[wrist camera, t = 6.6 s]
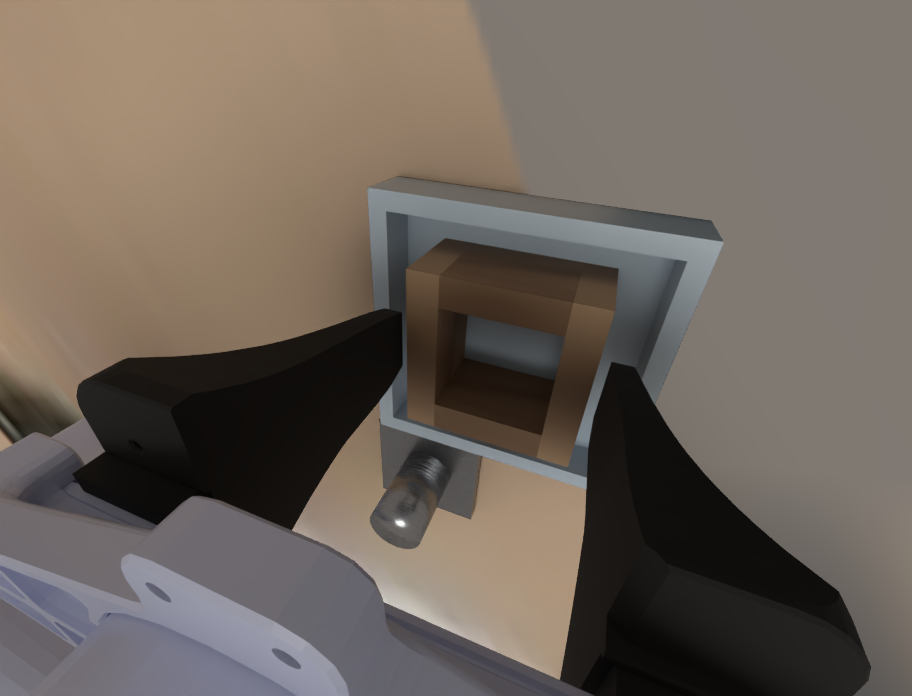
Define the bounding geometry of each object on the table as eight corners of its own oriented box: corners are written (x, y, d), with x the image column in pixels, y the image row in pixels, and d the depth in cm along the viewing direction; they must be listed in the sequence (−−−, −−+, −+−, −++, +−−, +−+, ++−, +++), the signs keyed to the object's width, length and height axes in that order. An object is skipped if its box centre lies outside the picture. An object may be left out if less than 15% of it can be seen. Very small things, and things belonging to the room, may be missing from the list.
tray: (401, 396, 19) (380, 423, 18) (397, 176, 14) (367, 187, 12) (616, 459, 17) (614, 498, 15) (711, 220, 11) (723, 242, 10)
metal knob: (388, 479, 23) (348, 542, 20) (385, 411, 20) (338, 472, 17) (474, 509, 21) (446, 583, 18) (483, 442, 19) (452, 513, 16)
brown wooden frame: (445, 237, 14) (405, 268, 11) (618, 268, 12) (615, 311, 10) (438, 394, 18) (407, 442, 15) (571, 432, 16) (559, 491, 14)
